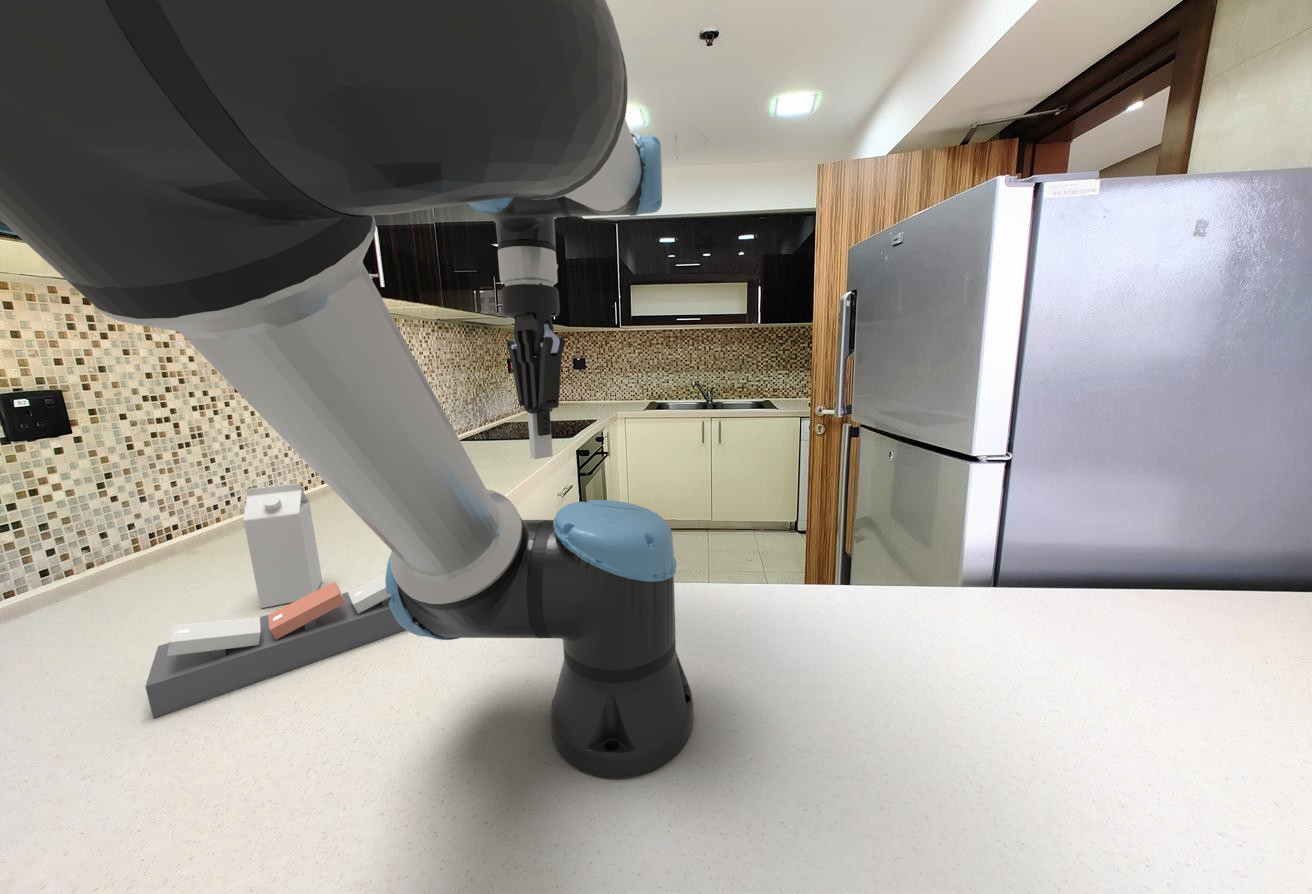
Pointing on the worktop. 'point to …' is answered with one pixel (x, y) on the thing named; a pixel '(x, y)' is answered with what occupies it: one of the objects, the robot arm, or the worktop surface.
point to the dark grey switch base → (263, 656)
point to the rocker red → (305, 610)
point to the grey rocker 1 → (214, 635)
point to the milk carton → (281, 544)
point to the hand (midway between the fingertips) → (541, 456)
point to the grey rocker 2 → (369, 593)
